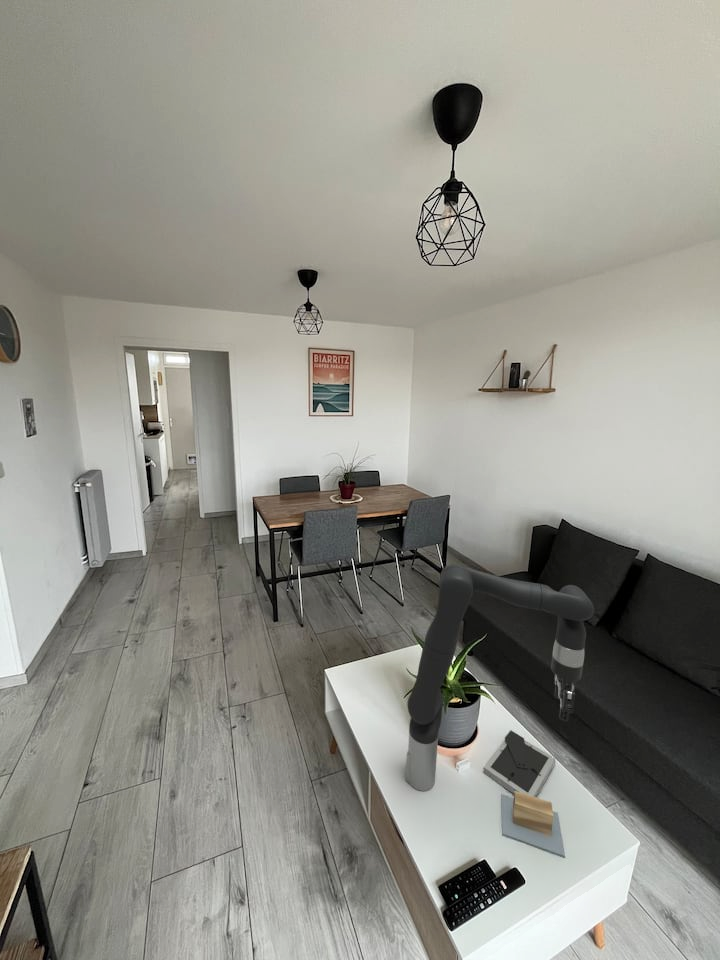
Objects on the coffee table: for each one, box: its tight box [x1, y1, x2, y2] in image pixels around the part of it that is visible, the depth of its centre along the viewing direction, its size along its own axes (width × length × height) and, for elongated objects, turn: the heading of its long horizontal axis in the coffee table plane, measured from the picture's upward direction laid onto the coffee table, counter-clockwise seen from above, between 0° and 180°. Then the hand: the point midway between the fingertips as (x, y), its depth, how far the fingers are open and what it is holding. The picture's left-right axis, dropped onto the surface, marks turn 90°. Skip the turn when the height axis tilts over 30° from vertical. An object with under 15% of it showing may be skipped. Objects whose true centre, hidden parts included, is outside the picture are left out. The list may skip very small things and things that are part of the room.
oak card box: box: [512, 791, 554, 837], centre depth 109 cm, size 4×10×7 cm, turn 71°
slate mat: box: [500, 794, 566, 858], centre depth 109 cm, size 16×12×1 cm
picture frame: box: [482, 729, 556, 798], centre depth 126 cm, size 16×3×21 cm
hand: (561, 708), depth 106 cm, fingers open, 8 cm apart
